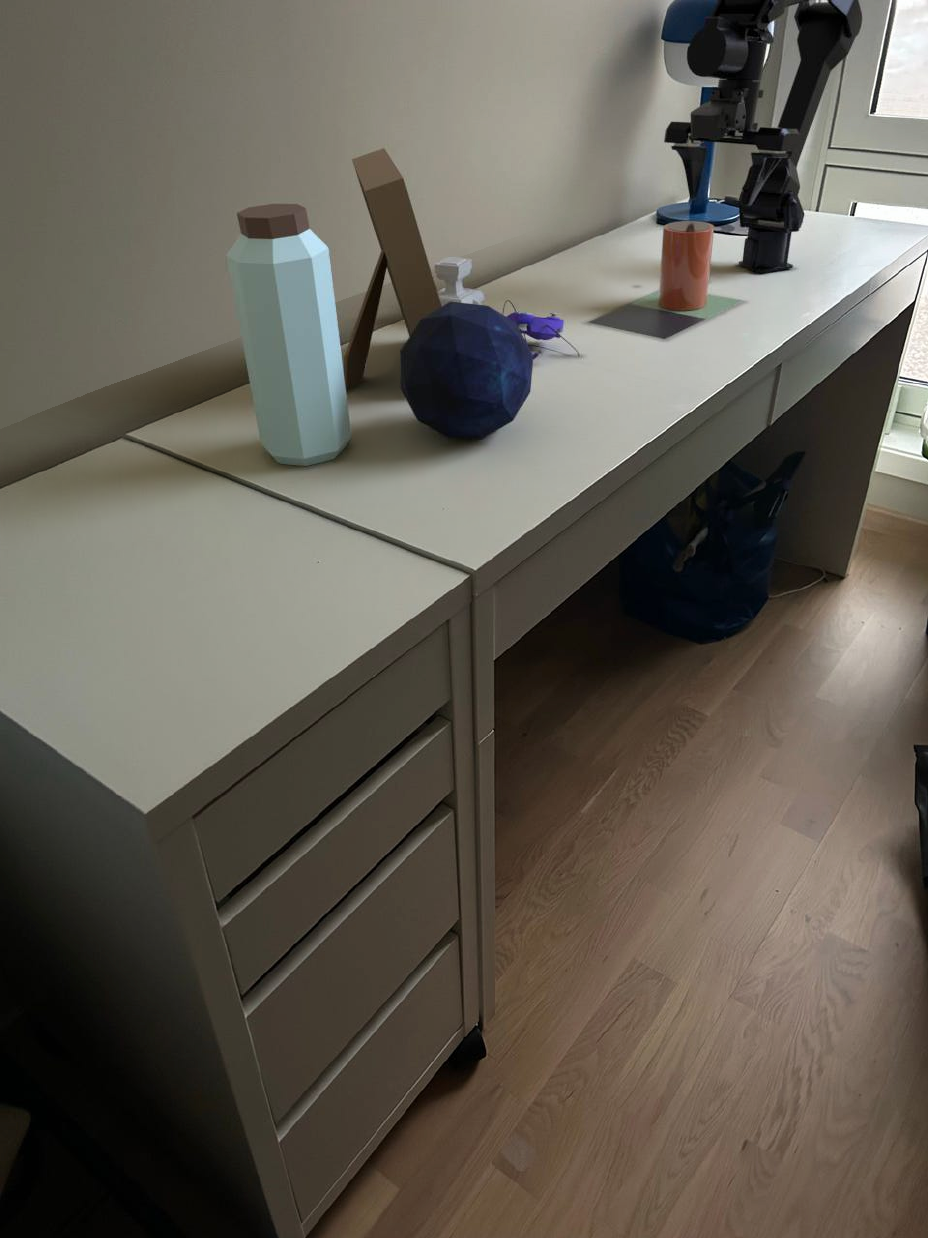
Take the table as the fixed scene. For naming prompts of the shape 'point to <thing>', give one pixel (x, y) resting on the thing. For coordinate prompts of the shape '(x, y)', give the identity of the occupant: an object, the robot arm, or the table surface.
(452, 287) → the stamp
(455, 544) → the table surface
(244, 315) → the water bottle
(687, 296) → the tumbler
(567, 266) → the table surface
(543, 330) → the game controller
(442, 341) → the decorative orb
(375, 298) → the photo frame
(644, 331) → the desk mat
